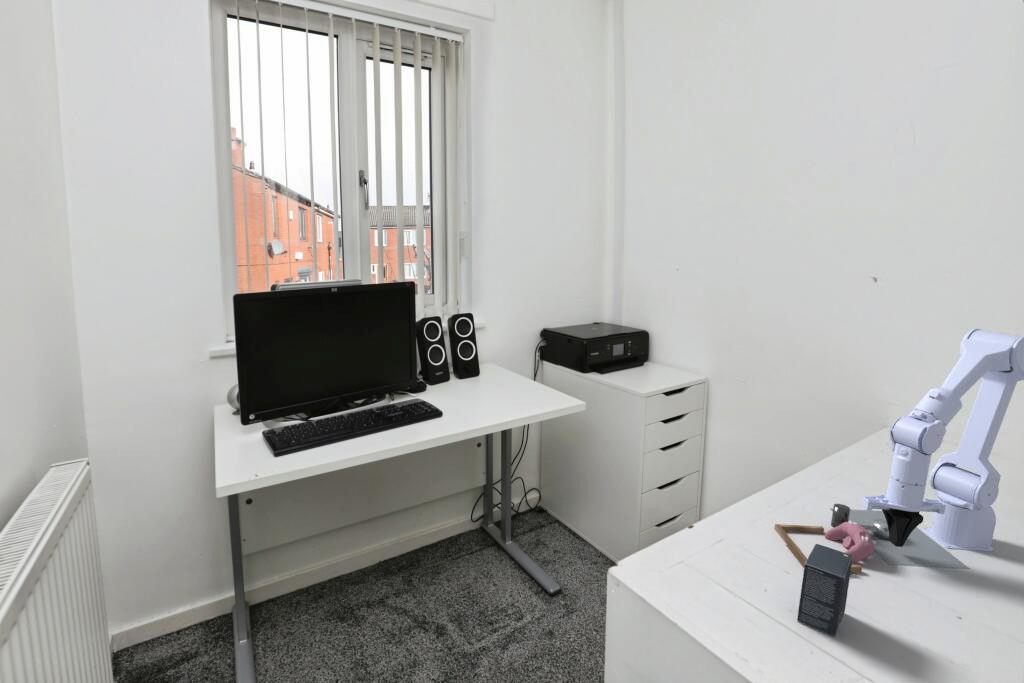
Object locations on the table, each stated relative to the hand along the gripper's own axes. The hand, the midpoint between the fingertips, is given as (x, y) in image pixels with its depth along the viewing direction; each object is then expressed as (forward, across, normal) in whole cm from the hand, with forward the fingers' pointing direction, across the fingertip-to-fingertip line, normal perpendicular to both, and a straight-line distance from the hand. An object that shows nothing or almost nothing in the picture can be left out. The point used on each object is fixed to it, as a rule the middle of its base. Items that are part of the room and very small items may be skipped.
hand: (896, 543), depth 109 cm
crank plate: (+2, -4, -7) cm, 8 cm away
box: (+3, +24, +20) cm, 31 cm away
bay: (+2, +15, 0) cm, 15 cm away
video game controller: (+3, +9, 0) cm, 9 cm away
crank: (+2, +2, -7) cm, 8 cm away
